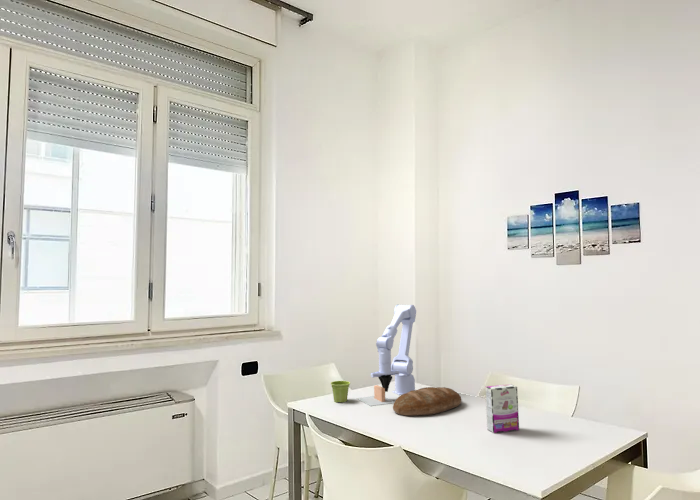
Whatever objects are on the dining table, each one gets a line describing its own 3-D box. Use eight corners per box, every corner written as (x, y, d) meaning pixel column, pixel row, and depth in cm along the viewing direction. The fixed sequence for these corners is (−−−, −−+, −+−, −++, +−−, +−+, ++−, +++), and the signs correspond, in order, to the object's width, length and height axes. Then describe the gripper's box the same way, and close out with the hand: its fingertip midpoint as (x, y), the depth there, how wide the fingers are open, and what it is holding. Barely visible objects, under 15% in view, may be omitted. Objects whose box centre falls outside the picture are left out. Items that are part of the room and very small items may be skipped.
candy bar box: (512, 426, 196) (510, 383, 197) (519, 430, 191) (518, 386, 192) (486, 429, 193) (484, 385, 194) (493, 433, 188) (491, 388, 189)
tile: (377, 397, 244) (377, 385, 244) (385, 401, 236) (384, 388, 237) (374, 398, 243) (374, 385, 243) (381, 401, 236) (381, 388, 236)
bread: (473, 405, 230) (473, 386, 230) (419, 421, 206) (418, 400, 206) (435, 397, 247) (435, 379, 247) (380, 411, 222) (380, 391, 223)
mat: (380, 396, 249) (380, 395, 249) (396, 403, 234) (396, 402, 234) (356, 398, 244) (356, 398, 244) (370, 406, 229) (370, 405, 229)
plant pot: (354, 400, 241) (354, 381, 242) (343, 404, 233) (343, 385, 234) (337, 398, 246) (337, 380, 247) (326, 402, 238) (326, 383, 239)
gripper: (393, 359, 248) (394, 388, 248) (367, 362, 242) (368, 391, 242) (401, 361, 242) (402, 390, 241) (374, 364, 236) (375, 394, 235)
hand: (385, 391), depth 241 cm, fingers closed
